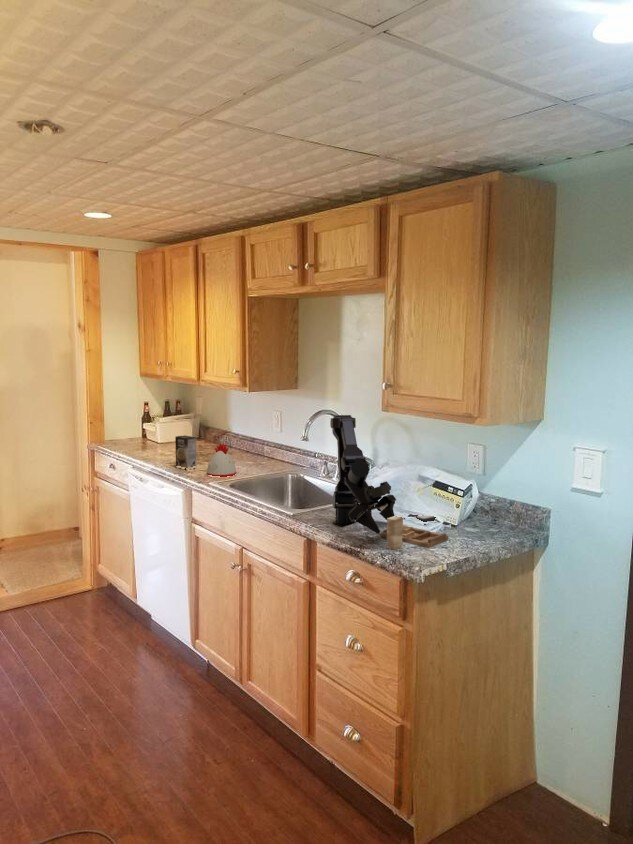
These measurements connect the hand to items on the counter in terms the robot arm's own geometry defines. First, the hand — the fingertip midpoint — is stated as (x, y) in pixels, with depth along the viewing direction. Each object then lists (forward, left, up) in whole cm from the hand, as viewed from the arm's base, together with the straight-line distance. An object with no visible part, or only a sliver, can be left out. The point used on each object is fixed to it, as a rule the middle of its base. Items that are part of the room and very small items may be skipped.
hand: (387, 529), depth 202 cm
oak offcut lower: (-4, +12, -5) cm, 13 cm away
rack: (+1, +12, -6) cm, 14 cm away
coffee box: (-151, +22, -6) cm, 153 cm away
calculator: (-12, +33, -7) cm, 36 cm away
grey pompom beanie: (-126, +26, -6) cm, 129 cm away
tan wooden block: (+3, 0, -6) cm, 7 cm away
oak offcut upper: (-4, +12, -4) cm, 13 cm away
